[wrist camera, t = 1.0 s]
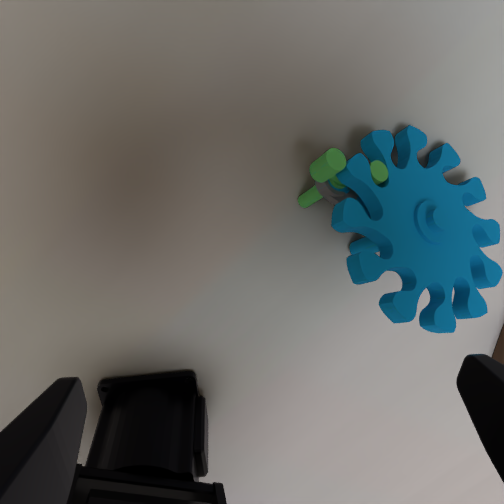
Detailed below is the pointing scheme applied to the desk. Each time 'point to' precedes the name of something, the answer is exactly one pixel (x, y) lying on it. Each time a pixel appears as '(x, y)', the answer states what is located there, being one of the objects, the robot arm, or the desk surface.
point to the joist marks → (499, 348)
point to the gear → (410, 226)
